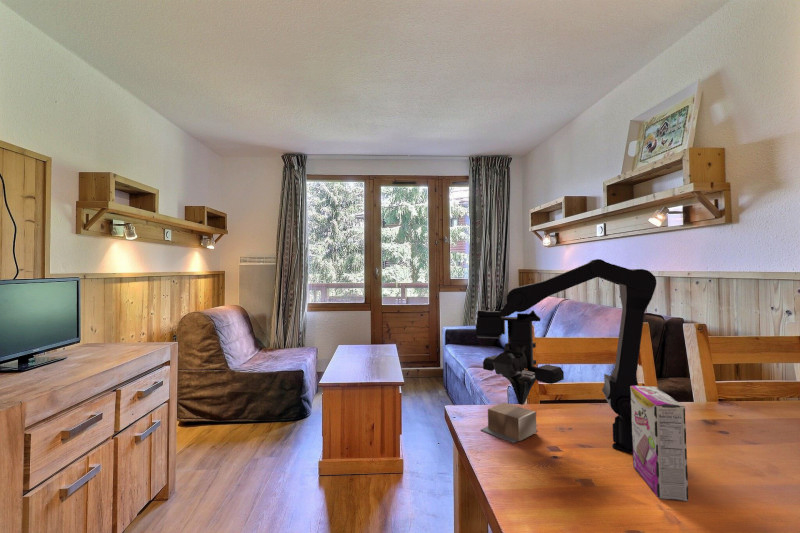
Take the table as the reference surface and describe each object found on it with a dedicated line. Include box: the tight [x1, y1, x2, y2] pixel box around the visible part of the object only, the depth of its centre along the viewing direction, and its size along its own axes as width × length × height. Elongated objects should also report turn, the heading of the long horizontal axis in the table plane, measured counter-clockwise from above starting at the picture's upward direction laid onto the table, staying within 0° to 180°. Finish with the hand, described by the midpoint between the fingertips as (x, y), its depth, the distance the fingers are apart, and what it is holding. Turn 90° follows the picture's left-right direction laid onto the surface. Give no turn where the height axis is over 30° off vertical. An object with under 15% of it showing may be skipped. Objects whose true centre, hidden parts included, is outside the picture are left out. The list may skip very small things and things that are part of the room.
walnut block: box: [487, 402, 537, 442], centre depth 93 cm, size 5×7×9 cm
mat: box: [480, 425, 538, 444], centre depth 94 cm, size 10×10×1 cm
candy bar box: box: [630, 385, 689, 502], centre depth 70 cm, size 11×5×16 cm, turn 168°
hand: (521, 404), depth 91 cm, fingers closed
